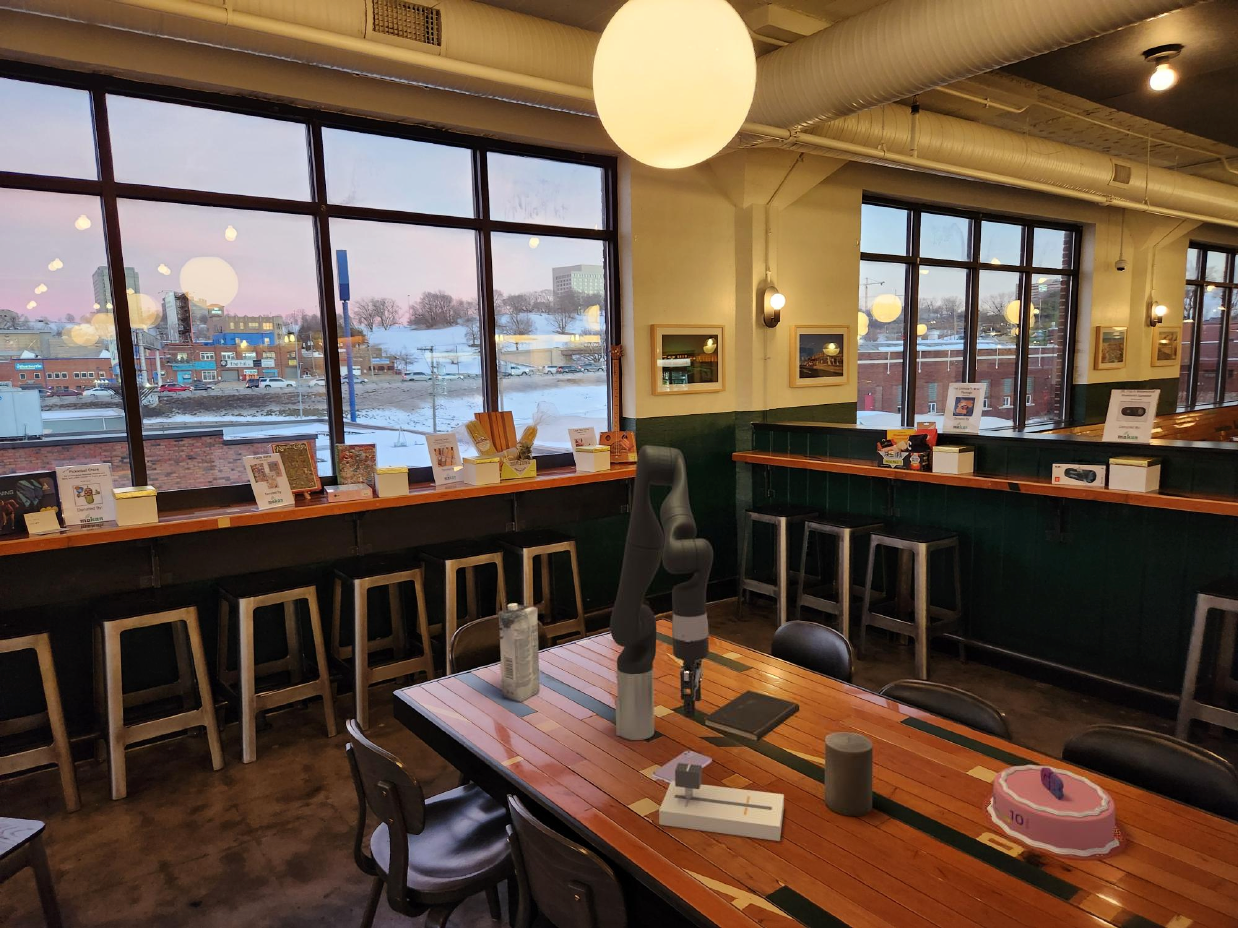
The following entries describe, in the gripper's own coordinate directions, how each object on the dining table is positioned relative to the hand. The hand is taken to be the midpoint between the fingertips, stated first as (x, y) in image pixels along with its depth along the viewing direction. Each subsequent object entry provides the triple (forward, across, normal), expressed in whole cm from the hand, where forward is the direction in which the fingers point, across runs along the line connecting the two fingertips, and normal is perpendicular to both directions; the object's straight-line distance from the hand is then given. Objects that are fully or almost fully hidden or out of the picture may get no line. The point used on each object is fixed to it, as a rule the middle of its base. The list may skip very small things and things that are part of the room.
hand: (692, 708), depth 160 cm
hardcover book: (+21, -45, +9) cm, 50 cm away
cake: (+23, -7, +70) cm, 74 cm away
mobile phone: (+21, -14, -5) cm, 26 cm away
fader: (+17, +4, -1) cm, 18 cm away
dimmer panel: (+21, +4, +6) cm, 22 cm away
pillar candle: (+22, -6, +31) cm, 39 cm away
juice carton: (+19, -47, -58) cm, 77 cm away
